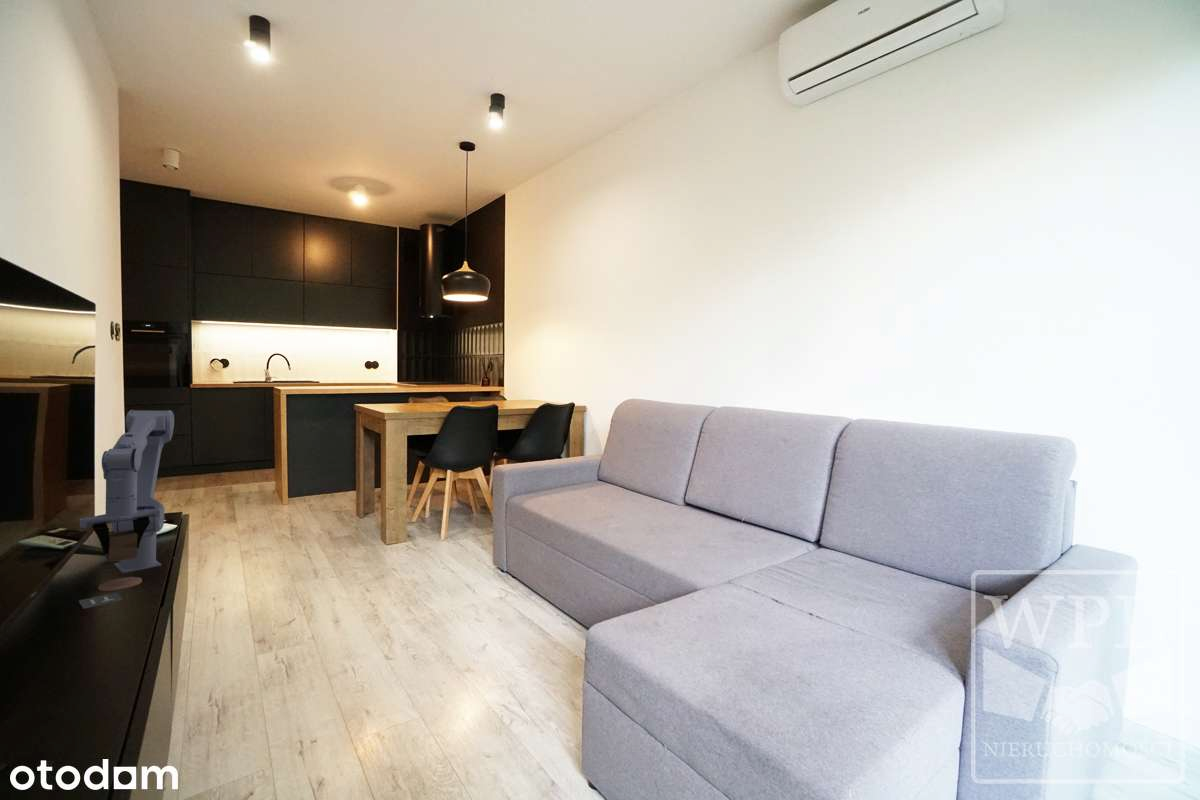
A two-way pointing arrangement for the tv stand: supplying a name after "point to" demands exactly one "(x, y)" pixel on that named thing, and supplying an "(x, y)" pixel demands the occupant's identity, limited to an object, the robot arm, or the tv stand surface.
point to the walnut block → (122, 545)
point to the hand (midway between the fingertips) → (121, 550)
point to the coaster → (120, 584)
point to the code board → (99, 600)
